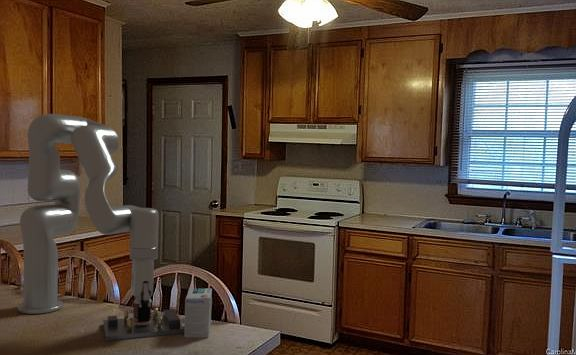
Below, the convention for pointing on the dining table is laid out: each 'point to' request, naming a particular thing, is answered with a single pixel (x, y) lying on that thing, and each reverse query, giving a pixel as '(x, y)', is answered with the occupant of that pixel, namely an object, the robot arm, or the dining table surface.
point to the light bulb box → (198, 313)
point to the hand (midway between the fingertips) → (142, 317)
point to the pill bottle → (135, 318)
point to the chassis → (142, 326)
